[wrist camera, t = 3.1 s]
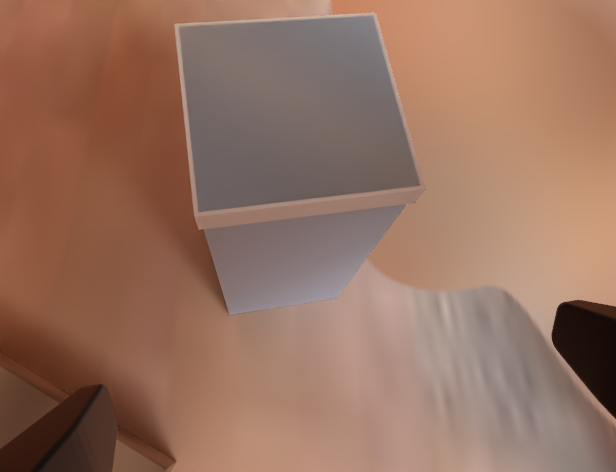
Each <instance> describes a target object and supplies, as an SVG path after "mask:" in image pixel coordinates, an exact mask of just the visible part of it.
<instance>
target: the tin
mask: <svg viewBox="0 0 616 472" xmlns="http://www.w3.org/2000/svg"><path fill="white" fill-rule="evenodd" d="M174 26H175V36H176V45H177V55H178V65H179V75H180V84H181V94H182V104H183V113H184V123H185V133H186V142H187V152H188V162H189V171H190V181H191V191H192V201H193V210H194V218H195V221H196V224H197V227H198V230H202V229H204V233H205V236H206V239H207V242H208V246H209V249H210V252H211V256H212V259H213V262H214V266H215V269H216V272H217V276H218V279H219V282H220V285H221V289H222V292H223V295H224V299H225V302H226V305H227V309H228V312H229V315H233V314H240V313H246V312H253V311H259V310H266V309H272V308H279V307H285V306H292V305H298V304H305V303H311V302H317V301H324V300H330V299H336V298H337V297H338V296H339V294H340V293H341V292H342V290H343V289H344V288H345V286H346V285H347V284H348V282H349V281H350V280H351V278H352V277H353V276H354V274H355V273H356V272H357V270H358V269H359V268H360V266H361V265H362V264H363V262H364V261H365V260H366V258H367V257H368V256H369V254H370V253H371V252H372V250H373V249H374V247H375V246H376V245H377V243H378V242H379V241H380V239H381V238H382V237H383V235H384V234H385V233H386V231H387V230H388V229H389V227H390V226H391V225H392V223H393V222H394V221H395V219H396V218H397V217H398V215H399V214H400V213H401V211H402V210H403V209H404V207H405V206H406V205H407V204H410V203H415V202H416V201H417V200H418V198H419V197H420V196H421V195H422V193H423V192H424V191H425V189H426V188H425V185H424V181H423V178H422V175H421V171H420V167H419V164H418V160H417V157H416V153H415V150H414V146H413V143H412V140H411V136H410V132H409V129H408V125H407V122H406V118H405V114H404V111H403V107H402V104H401V101H400V97H399V94H398V90H397V86H396V83H395V80H394V76H393V72H392V69H391V65H390V62H389V58H388V55H387V51H386V48H385V44H384V40H383V37H382V33H381V30H380V26H379V23H378V19H377V16H376V13H359V14H342V15H322V16H305V17H287V18H269V19H251V20H233V21H216V22H198V23H180V24H174Z"/></svg>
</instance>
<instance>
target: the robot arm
mask: <svg viewBox="0 0 616 472" xmlns="http://www.w3.org/2000/svg"><path fill="white" fill-rule="evenodd" d="M552 342H553V344H554V346H555V348H556V349H557V351H558V352H559V353H560V355H561V356H562V357H563V358H564V359H565V361H566V362H567V363H568V364H569V366H570V367H571V368H572V369H573V370H574V372H575V373H576V374H577V375H578V377H579V378H580V379H581V380H582V382H583V383H584V384H585V385H586V387H587V388H588V389H589V390H590V391H591V393H592V394H593V395H594V396H595V397H596V398H597V400H598V401H599V402H600V403H601V404H602V405H603V406H604V407H605V408H606V409H607V410H608V412H609V413H610V414H611V415H612V416H613V417H615V419H616V307H615V306H609V305H604V304H598V303H592V302H588V301H582V300H575V301H569V302H563V303H561V304H560V305H559V306H558V308H557V312H556V316H555V321H554V326H553V330H552ZM117 431H118V425H117V417H116V414H115V411H114V408H113V405H112V402H111V399H110V396H109V392H108V390H107V388H106V386H105V385H103V384H97V385H91V386H86V387H82V388H80V389H78V390H77V391H75V392H74V393H73V394H71V395H70V396H69V397H68V398H66V399H65V400H64V401H62V402H61V403H60V404H58V405H57V406H56V407H54V408H53V409H52V410H50V411H49V412H48V413H47V414H45V415H44V416H43V417H41V418H40V419H39V420H37V421H36V422H35V423H33V424H32V425H31V426H29V427H28V428H27V429H26V430H24V431H23V432H22V433H20V434H19V435H18V436H16V437H15V438H14V439H12V440H11V441H10V442H8V443H7V444H6V445H4V446H3V447H2V448H1V449H0V472H112V469H113V462H114V454H115V447H116V439H117Z"/></svg>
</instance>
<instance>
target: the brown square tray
mask: <svg viewBox="0 0 616 472" xmlns="http://www.w3.org/2000/svg"><path fill="white" fill-rule="evenodd" d="M69 396H70V395H69V394H67V393H66V392H64V391H63V390H61V389H59V388H58V387H56V386H55V385H53V384H51V383H50V382H48V381H47V380H45V379H43V378H42V377H40V376H39V375H37V374H35V373H34V372H32V371H31V370H29V369H27V368H26V367H24V366H23V365H21V364H19V363H18V362H16V361H15V360H13V359H11V358H10V357H8V356H7V355H5V354H3V353H2V352H0V449H1V448H2V447H3V446H4V445H6V444H7V443H8V442H10V441H11V440H12V439H14V438H15V437H16V436H18V435H19V434H20V433H22V432H23V431H24V430H26V429H27V428H28V427H29V426H31V425H32V424H33V423H35V422H36V421H37V420H39V419H40V418H41V417H43V416H44V415H45V414H47V413H48V412H49V411H50V410H52V409H53V408H54V407H56V406H57V405H58V404H60V403H61V402H62V401H64V400H65V399H66V398H68V397H69ZM175 464H176V461H175V460H173V459H171V458H170V457H168V456H167V455H165V454H163V453H162V452H160V451H159V450H157V449H155V448H154V447H152V446H151V445H149V444H147V443H146V442H144V441H143V440H141V439H139V438H138V437H136V436H135V435H133V434H131V433H130V432H128V431H127V430H125V429H123V428H122V427H120V426H119V425H118V431H117V439H116V447H115V454H114V462H113V469H112V472H171V470H172V469H173V467H174V465H175Z"/></svg>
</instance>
